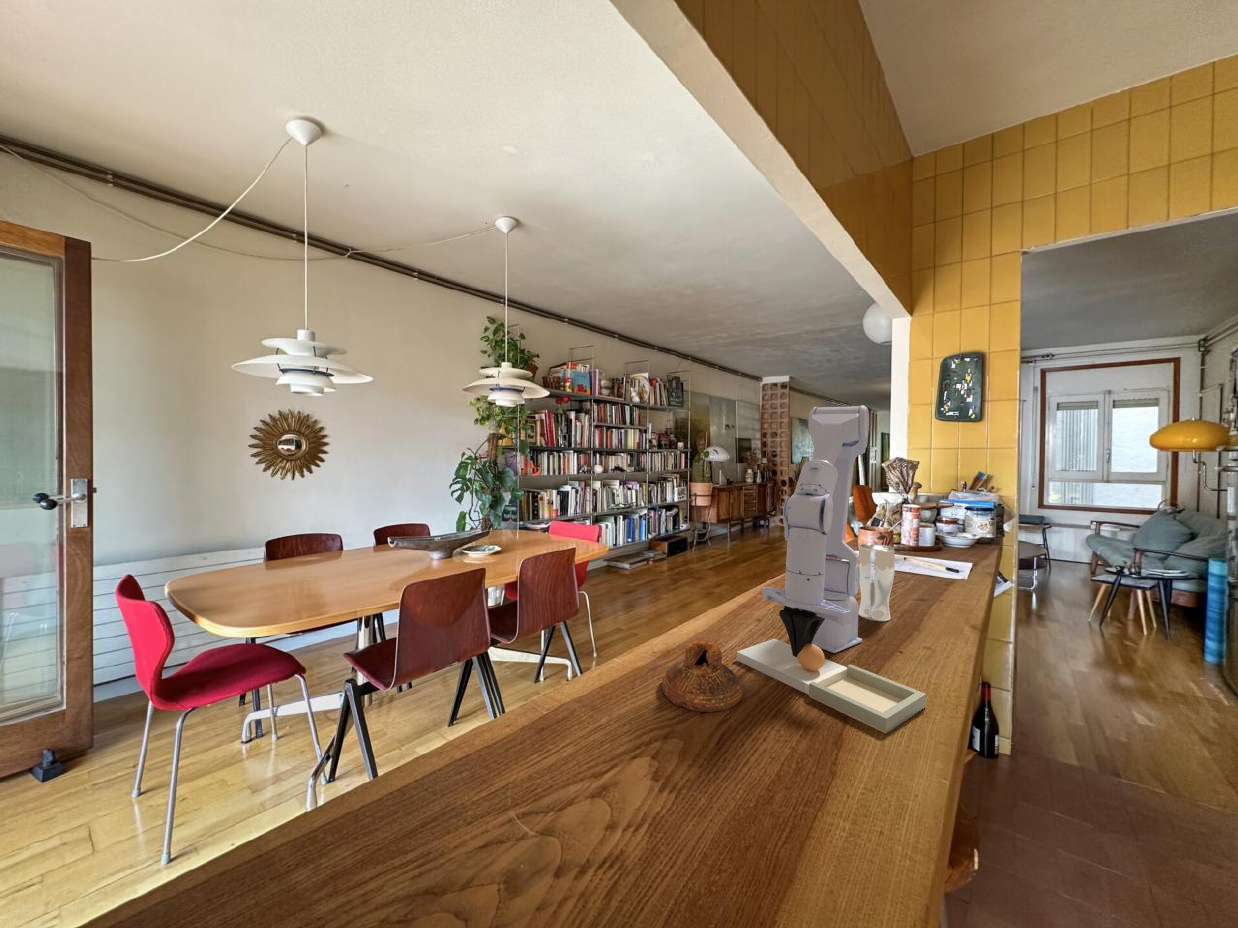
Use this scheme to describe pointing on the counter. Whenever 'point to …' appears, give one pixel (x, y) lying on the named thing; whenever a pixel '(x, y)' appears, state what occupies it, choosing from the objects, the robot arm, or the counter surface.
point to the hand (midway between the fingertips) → (801, 656)
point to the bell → (702, 680)
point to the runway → (788, 665)
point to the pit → (870, 699)
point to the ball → (811, 657)
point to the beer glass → (876, 580)
